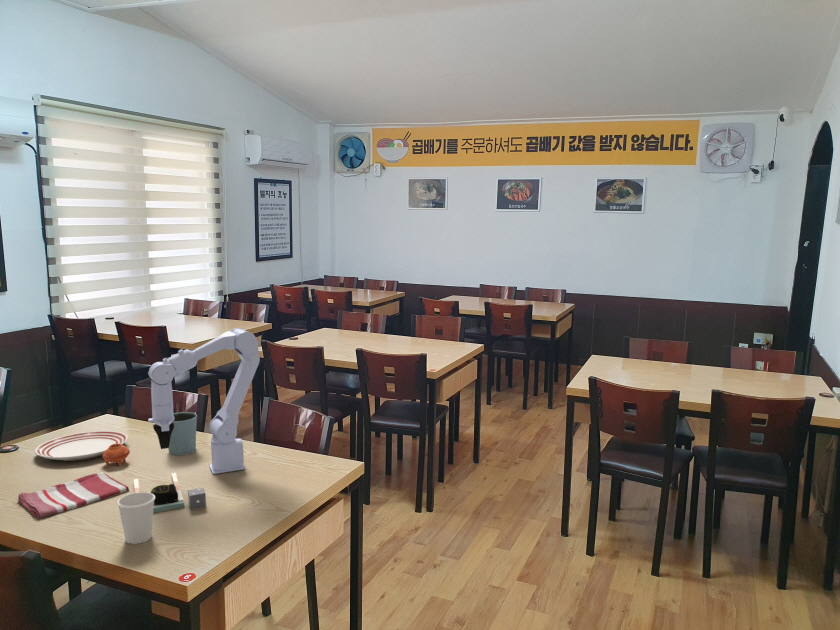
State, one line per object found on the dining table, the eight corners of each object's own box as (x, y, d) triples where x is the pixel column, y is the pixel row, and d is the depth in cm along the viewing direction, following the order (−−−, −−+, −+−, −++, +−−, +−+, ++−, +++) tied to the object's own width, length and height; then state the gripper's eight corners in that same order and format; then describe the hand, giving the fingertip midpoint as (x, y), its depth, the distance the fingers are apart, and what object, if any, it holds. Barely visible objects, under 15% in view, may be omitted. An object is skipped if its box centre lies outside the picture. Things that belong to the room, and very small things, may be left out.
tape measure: (178, 504, 171) (178, 490, 171) (151, 508, 168) (150, 495, 168) (176, 494, 177) (175, 481, 177) (150, 498, 174) (149, 485, 174)
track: (175, 476, 189) (175, 472, 189) (184, 507, 169) (184, 502, 169) (133, 483, 184) (133, 479, 184) (137, 515, 164) (136, 511, 163)
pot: (136, 461, 200) (130, 443, 198) (112, 473, 195) (105, 455, 193) (127, 454, 206) (121, 436, 203) (102, 466, 201) (96, 447, 198)
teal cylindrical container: (187, 443, 218) (185, 410, 217) (204, 449, 212) (203, 415, 211) (160, 451, 210) (158, 417, 208) (178, 458, 204) (176, 422, 203)
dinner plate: (23, 452, 209) (22, 443, 209) (107, 432, 230) (107, 424, 229) (54, 474, 191) (53, 463, 191) (142, 450, 212) (142, 441, 211)
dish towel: (16, 502, 172) (15, 493, 172) (104, 477, 190) (103, 469, 189) (39, 521, 161) (38, 511, 161) (130, 493, 179) (129, 484, 178)
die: (204, 501, 173) (203, 487, 172) (206, 507, 169) (205, 493, 168) (188, 504, 171) (187, 490, 170) (190, 510, 167) (189, 495, 167)
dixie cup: (149, 526, 158) (147, 488, 156) (162, 538, 152) (160, 499, 150) (114, 537, 152) (112, 498, 151) (126, 550, 146) (123, 509, 145)
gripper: (146, 398, 188) (148, 442, 190) (149, 411, 175) (151, 458, 177) (171, 396, 191) (173, 439, 193) (176, 408, 178) (178, 454, 180)
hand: (164, 447), depth 185 cm, fingers closed
